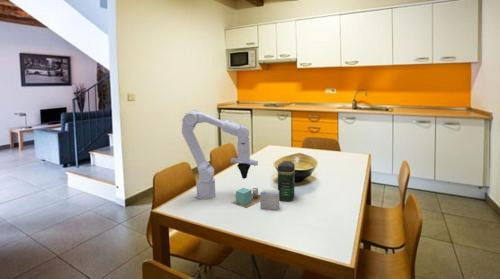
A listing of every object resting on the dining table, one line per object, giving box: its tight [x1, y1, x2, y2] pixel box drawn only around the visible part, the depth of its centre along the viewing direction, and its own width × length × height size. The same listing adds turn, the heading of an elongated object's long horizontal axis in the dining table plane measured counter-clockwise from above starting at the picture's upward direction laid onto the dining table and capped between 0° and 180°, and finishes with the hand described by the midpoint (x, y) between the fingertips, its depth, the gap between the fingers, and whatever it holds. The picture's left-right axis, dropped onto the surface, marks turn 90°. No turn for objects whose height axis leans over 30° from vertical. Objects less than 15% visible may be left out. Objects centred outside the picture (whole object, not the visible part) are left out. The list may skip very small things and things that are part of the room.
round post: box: [252, 187, 259, 199], centre depth 146 cm, size 3×3×4 cm
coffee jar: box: [277, 160, 296, 203], centre depth 144 cm, size 10×8×19 cm
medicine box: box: [259, 188, 281, 211], centre depth 134 cm, size 8×4×9 cm, turn 74°
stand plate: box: [230, 192, 261, 209], centre depth 144 cm, size 10×16×1 cm, turn 138°
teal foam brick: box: [235, 187, 253, 206], centre depth 140 cm, size 5×5×6 cm
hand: (244, 177), depth 148 cm, fingers closed
